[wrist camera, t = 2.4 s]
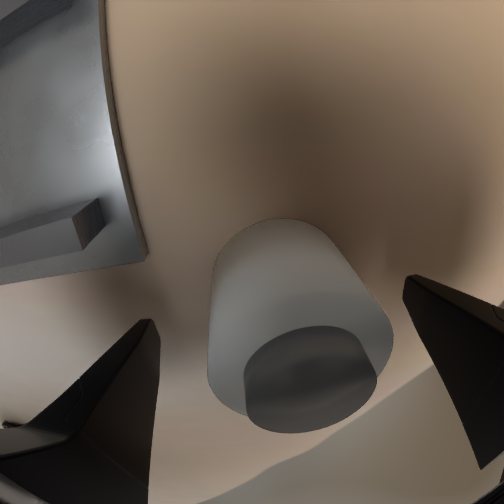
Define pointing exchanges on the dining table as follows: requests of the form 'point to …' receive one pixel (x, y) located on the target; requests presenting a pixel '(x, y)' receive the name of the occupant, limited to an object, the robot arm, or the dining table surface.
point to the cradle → (60, 145)
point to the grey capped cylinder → (292, 329)
